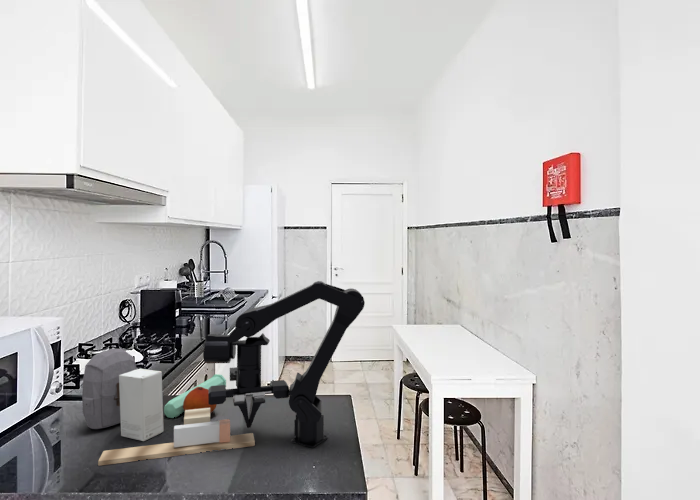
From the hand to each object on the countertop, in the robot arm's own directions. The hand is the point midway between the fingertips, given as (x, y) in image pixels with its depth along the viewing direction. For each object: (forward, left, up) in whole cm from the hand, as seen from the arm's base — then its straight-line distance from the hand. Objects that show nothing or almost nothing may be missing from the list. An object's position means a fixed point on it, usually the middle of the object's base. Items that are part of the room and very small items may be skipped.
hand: (248, 427), depth 107 cm
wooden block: (+13, +4, -4) cm, 14 cm away
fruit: (+23, -5, -4) cm, 24 cm away
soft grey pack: (+38, +11, -4) cm, 40 cm away
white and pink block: (+7, +8, -2) cm, 11 cm away
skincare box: (+26, +11, -4) cm, 28 cm away
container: (+32, -11, -4) cm, 34 cm away
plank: (+10, +11, -4) cm, 16 cm away
